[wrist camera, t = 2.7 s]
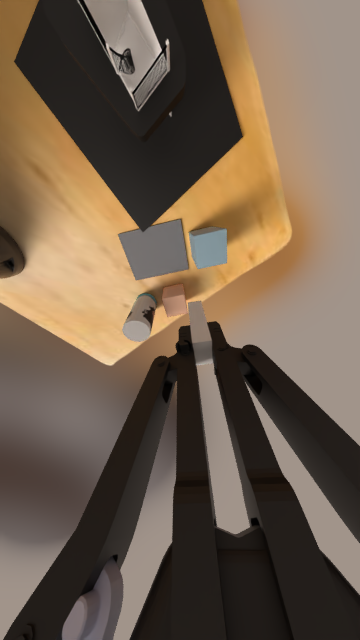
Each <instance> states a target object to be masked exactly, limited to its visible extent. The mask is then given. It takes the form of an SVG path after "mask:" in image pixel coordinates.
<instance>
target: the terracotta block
mask: <svg viewBox="0 0 360 640" xmlns="http://www.w3.org/2000/svg"><path fill="white" fill-rule="evenodd" d="M162 301H163V304H164V307H165V311H166V314H167V317H171V316H176V315H181V314H187V313H188V312H187V304H186V298H185V293H184V288H183V283H182V284H178V285H173V286H168V287H164V289H163V295H162Z"/></svg>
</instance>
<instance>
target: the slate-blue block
mask: <svg viewBox="0 0 360 640" xmlns="http://www.w3.org/2000/svg"><path fill="white" fill-rule="evenodd" d="M189 238H190V246H191V253H192V258H193V260H194V262H195V264H196V266H197V268H198V269H201V268H206V267H210V266H215V265H220V264H225V263H227V229H225V228H219V227H213V226H212V227H208V228H203V229H199V230H195V231H191V232H189Z"/></svg>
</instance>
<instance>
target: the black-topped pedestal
mask: <svg viewBox="0 0 360 640" xmlns="http://www.w3.org/2000/svg"><path fill="white" fill-rule="evenodd" d="M14 62H15V63H16V65H17V66H18V67H19V69H20V70H21V71H22V73H23V74H24V75H25V77H26V78H27V79H28V81H29V82H30V83H31V85H32V86H33V87H34V89H35V90H36V91H37V93H38V94H39V95H40V97H41V98H42V99H43V101H44V102H45V103H46V105H47V106H48V107H49V109H50V110H51V111H52V113H53V114H54V115H55V117H56V118H57V119H58V121H59V122H60V123H61V125H62V126H63V127H64V128H65V130H66V131H67V132H68V134H69V135H70V136H71V138H72V139H73V140H74V142H75V143H76V144H77V146H78V147H79V148H80V150H81V151H82V152H83V154H84V155H85V156H86V158H87V159H88V160H89V162H90V163H91V164H92V166H93V167H94V168H95V170H96V171H97V172H98V174H99V175H100V176H101V178H102V179H103V180H104V182H105V183H106V184H107V186H108V187H109V188H110V190H111V191H112V192H113V193H114V195H115V196H116V197H117V199H118V200H119V201H120V203H121V204H122V205H123V207H124V208H125V209H126V211H127V212H128V213H129V215H130V216H131V217H132V219H133V220H134V221H135V223H136V224H137V225H138V227H139V228H140V229H141V231H142V232H144V231H145V230H146V229H147V228H148V227H149V226H150V225H151V224H153V223H154V222H155V221H156V220H157V219H158V218H159V217H160V216H161V215H162V214H163V213H164V212H165V211H166V210H167V209H168V208H169V207H170V206H171V205H172V204H173V203H174V202H175V201H176V200H178V199H179V198H180V197H181V196H182V195H183V194H184V193H185V192H186V191H187V190H188V189H189V188H190V187H191V186H192V185H193V184H194V183H195V182H196V181H197V180H198V179H199V178H200V177H201V176H203V175H204V174H205V173H206V172H207V171H208V170H209V169H210V168H211V167H212V166H213V165H214V164H215V163H216V162H217V161H218V160H219V159H220V158H221V157H222V156H223V155H224V154H225V153H226V152H228V151H229V150H230V149H231V148H232V147H233V146H234V145H235V144H236V143H237V142H238V141H239V140H240V139H241V138H242V137H243V136H242V132H241V129H240V126H239V122H238V119H237V116H236V112H235V109H234V106H233V102H232V99H231V96H230V92H229V89H228V86H227V82H226V79H225V76H224V72H223V69H222V66H221V62H220V59H219V56H218V52H217V49H216V46H215V42H214V39H213V36H212V32H211V29H210V26H209V22H208V19H207V15H206V12H205V9H204V5H203V2H202V0H39V2H38V4H37V7H36V9H35V12H34V14H33V17H32V19H31V22H30V24H29V27H28V29H27V31H26V34H25V36H24V39H23V41H22V44H21V46H20V49H19V51H18V54H17V56H16V59H15V61H14Z"/></svg>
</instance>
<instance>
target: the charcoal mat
mask: <svg viewBox="0 0 360 640" xmlns="http://www.w3.org/2000/svg"><path fill="white" fill-rule="evenodd" d="M118 236H119V239H120V241H121V244H122V246H123V249H124V251H125V254H126V257H127V259H128V262H129V264H130V267H131V269H132V272H133V274H134V277H135V280H140V279H145V278H150V277H154V276H159V275H164V274H168V273H173V272H178V271H183V270H187V269H189V268H188V262H187V256H186V250H185V244H184V237H183V231H182V225H181V219H179V220H175V221H171V222H167V223H163V224H159V225H155V226H151V227H148V228H147V229H146V230H145V231H144V232H142V231H141V229H138V230H134V231H130V232H126V233H122V234H118Z"/></svg>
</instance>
